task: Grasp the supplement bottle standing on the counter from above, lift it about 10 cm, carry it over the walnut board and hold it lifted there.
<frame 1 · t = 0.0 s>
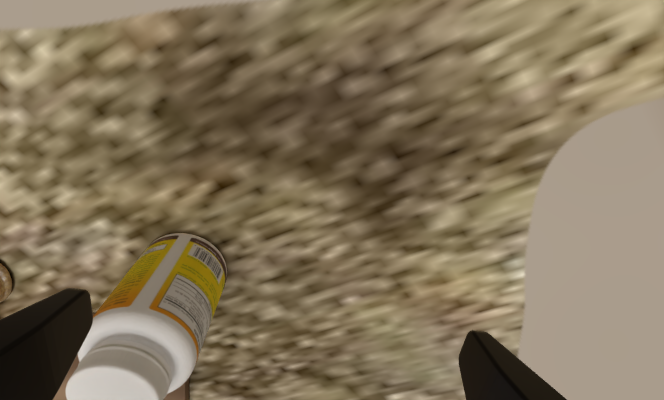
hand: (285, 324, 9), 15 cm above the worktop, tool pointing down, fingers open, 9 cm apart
supplement bottle: (189, 263, 26), on the worktop
walnut board: (123, 365, 29), on the worktop
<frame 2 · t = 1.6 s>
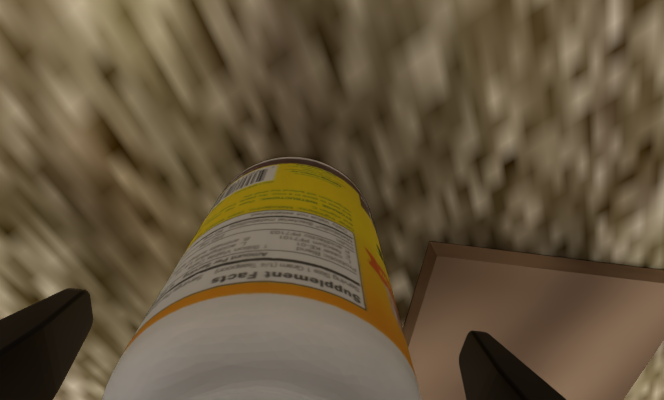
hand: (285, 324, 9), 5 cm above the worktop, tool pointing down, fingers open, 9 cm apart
supplement bottle: (295, 221, 14), on the worktop
walnut board: (511, 353, 17), on the worktop
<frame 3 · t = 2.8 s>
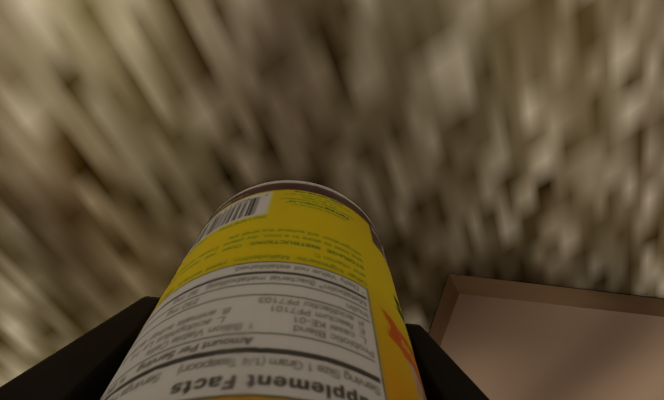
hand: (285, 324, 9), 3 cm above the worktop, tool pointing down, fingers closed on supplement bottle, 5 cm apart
supplement bottle: (294, 251, 12), on the worktop, touching gripper
walnut board: (537, 394, 15), on the worktop
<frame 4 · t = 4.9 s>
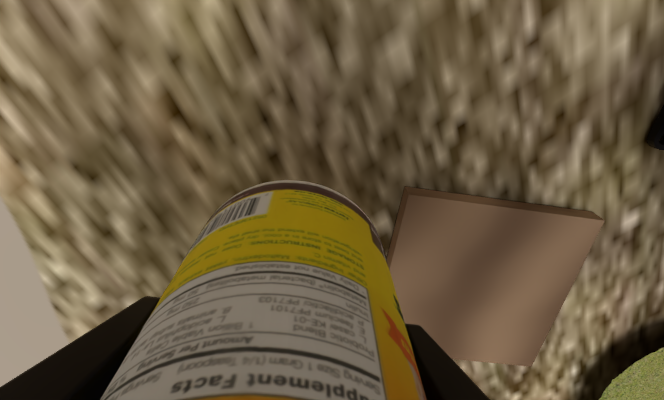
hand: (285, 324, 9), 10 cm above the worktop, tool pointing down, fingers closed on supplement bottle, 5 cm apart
supplement bottle: (294, 251, 12), point 7 cm above the worktop, touching gripper
yellow-green flat disc: (658, 376, 25), on the worktop
walnut board: (470, 279, 21), on the worktop
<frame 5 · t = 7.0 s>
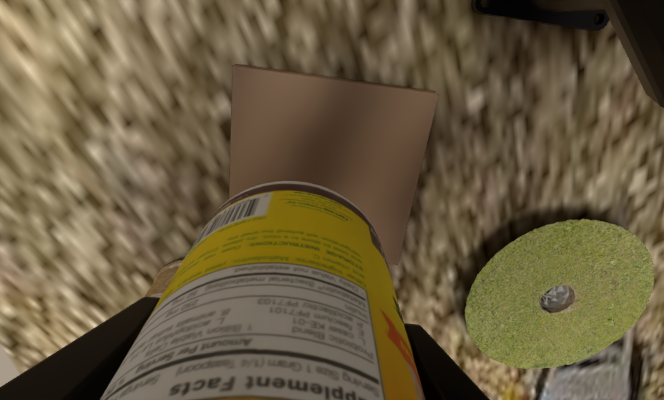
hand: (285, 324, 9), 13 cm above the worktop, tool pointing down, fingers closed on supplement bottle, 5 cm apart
supplement bottle: (293, 252, 12), point 10 cm above the worktop, touching gripper
yellow-green flat disc: (540, 281, 25), on the worktop
sprinkles bottle: (193, 284, 24), on the worktop
walnut board: (324, 170, 21), on the worktop
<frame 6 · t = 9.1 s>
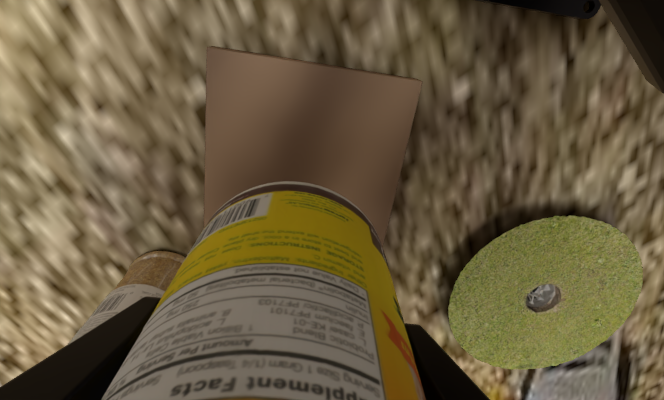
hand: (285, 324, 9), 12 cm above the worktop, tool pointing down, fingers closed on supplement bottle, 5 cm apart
supplement bottle: (294, 252, 12), point 9 cm above the worktop, touching gripper
yellow-green flat disc: (526, 280, 24), on the worktop
sprinkles bottle: (169, 276, 23), on the worktop
walnut board: (304, 160, 20), on the worktop
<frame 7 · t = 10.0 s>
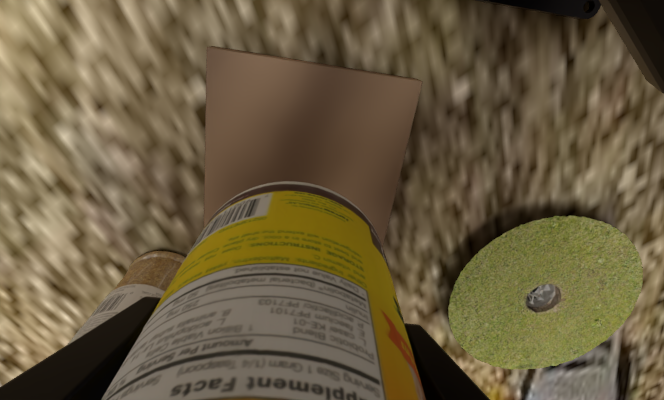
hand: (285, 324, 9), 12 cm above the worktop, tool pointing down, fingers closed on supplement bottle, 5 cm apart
supplement bottle: (294, 252, 12), point 9 cm above the worktop, touching gripper
yellow-green flat disc: (526, 280, 24), on the worktop
sprinkles bottle: (169, 276, 23), on the worktop
walnut board: (304, 160, 20), on the worktop
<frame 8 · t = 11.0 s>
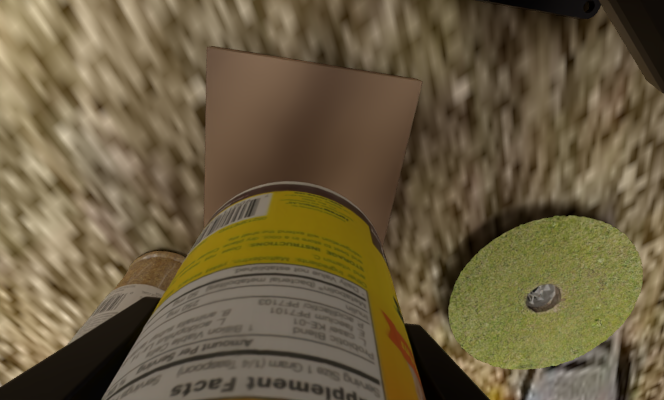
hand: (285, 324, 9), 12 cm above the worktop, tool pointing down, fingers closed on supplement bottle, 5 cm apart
supplement bottle: (294, 252, 12), point 9 cm above the worktop, touching gripper
yellow-green flat disc: (526, 280, 24), on the worktop
sprinkles bottle: (169, 276, 23), on the worktop
walnut board: (304, 160, 20), on the worktop
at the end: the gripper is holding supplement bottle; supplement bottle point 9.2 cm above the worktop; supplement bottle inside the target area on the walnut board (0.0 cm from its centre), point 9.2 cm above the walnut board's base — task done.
